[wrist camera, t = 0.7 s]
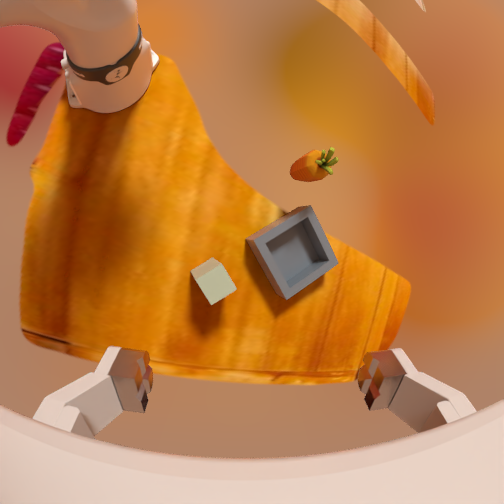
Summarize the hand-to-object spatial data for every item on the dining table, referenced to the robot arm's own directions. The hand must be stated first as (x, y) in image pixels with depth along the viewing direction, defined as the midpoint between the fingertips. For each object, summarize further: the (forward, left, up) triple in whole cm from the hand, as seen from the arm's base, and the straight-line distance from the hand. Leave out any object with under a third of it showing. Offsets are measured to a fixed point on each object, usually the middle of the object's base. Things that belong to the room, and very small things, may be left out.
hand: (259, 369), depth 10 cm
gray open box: (+9, +17, -42) cm, 46 cm away
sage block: (+5, +2, -42) cm, 42 cm away
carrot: (-3, +25, -42) cm, 49 cm away
